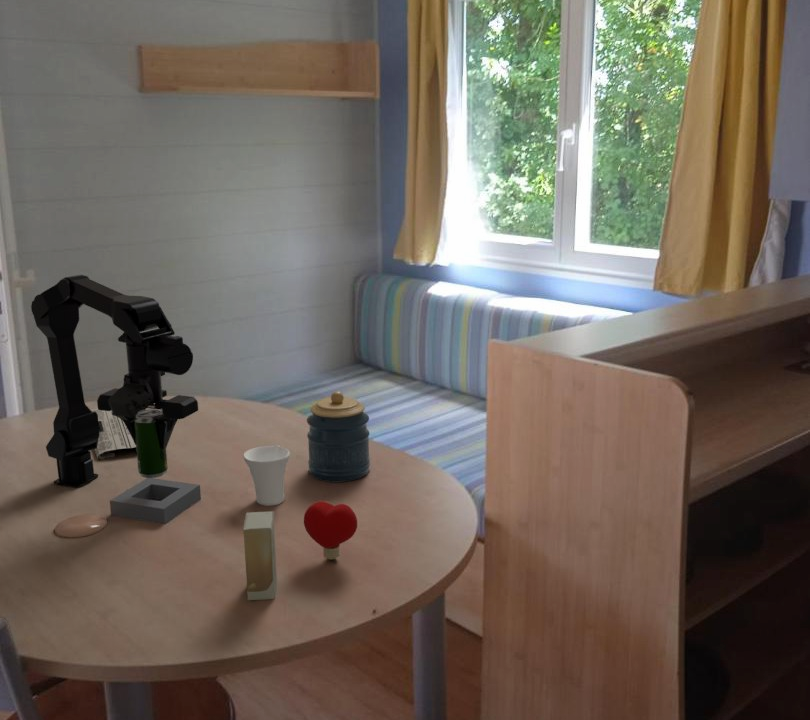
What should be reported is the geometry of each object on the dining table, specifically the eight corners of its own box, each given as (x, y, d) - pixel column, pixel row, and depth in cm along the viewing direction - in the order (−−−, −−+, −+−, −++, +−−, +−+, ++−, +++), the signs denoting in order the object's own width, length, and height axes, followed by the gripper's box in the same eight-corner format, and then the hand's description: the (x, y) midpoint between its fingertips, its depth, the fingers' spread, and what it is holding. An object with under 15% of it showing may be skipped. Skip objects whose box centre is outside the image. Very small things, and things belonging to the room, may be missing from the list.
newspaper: (81, 419, 226) (79, 405, 225) (131, 412, 231) (130, 399, 231) (98, 464, 195) (97, 449, 194) (156, 455, 200) (155, 440, 200)
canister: (319, 487, 180) (316, 404, 176) (301, 466, 192) (297, 387, 187) (379, 477, 185) (377, 395, 181) (357, 456, 197) (355, 380, 192)
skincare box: (250, 581, 143) (246, 511, 140) (277, 580, 143) (273, 509, 140) (246, 602, 137) (242, 528, 134) (275, 600, 137) (271, 527, 134)
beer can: (143, 480, 166) (138, 419, 163) (135, 471, 171) (129, 412, 167) (171, 474, 169) (167, 414, 166) (162, 466, 173) (157, 407, 170)
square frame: (111, 515, 168) (109, 500, 167) (149, 491, 179) (148, 477, 178) (165, 523, 164) (163, 508, 163) (200, 499, 175) (199, 484, 174)
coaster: (44, 533, 161) (43, 531, 161) (77, 513, 169) (77, 511, 169) (85, 540, 158) (84, 538, 158) (117, 520, 166) (117, 518, 166)
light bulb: (365, 554, 152) (363, 499, 149) (349, 573, 145) (347, 516, 143) (315, 546, 154) (313, 493, 152) (297, 565, 148) (295, 509, 146)
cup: (301, 494, 177) (299, 447, 174) (275, 512, 168) (273, 463, 166) (263, 487, 180) (261, 441, 178) (236, 505, 172) (233, 456, 170)
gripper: (73, 374, 160) (82, 455, 164) (161, 382, 154) (168, 467, 158) (112, 359, 170) (120, 436, 174) (197, 366, 164) (202, 446, 168)
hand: (151, 446), depth 168 cm, fingers closed on beer can, 5 cm apart
